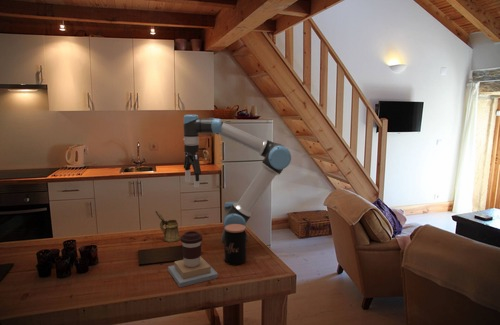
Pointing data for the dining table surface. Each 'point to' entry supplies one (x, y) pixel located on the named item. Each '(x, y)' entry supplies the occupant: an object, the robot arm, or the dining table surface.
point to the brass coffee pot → (169, 229)
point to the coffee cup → (191, 248)
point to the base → (191, 280)
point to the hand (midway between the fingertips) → (192, 184)
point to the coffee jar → (235, 244)
